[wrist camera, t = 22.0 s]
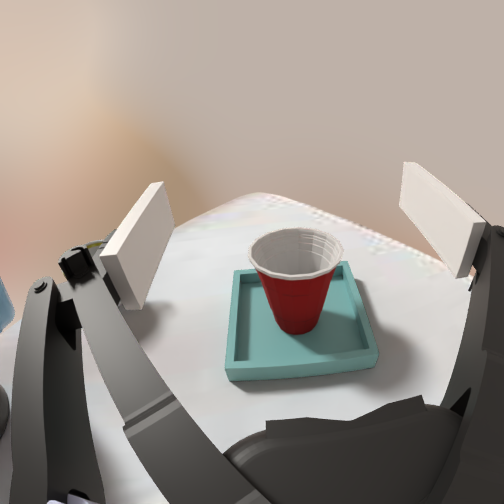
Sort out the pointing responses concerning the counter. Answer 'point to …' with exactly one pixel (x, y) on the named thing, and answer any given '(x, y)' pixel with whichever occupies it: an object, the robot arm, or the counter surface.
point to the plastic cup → (296, 274)
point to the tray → (297, 346)
